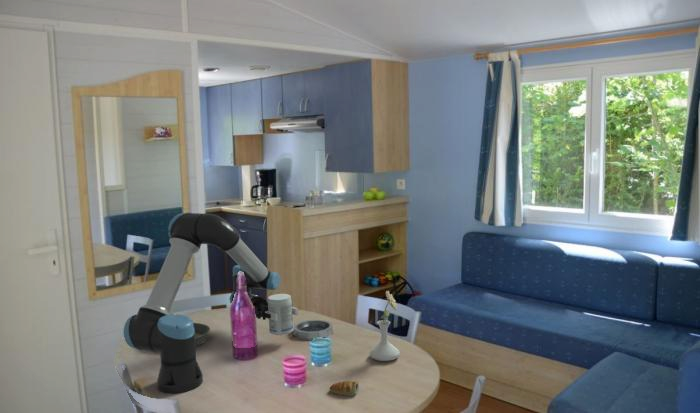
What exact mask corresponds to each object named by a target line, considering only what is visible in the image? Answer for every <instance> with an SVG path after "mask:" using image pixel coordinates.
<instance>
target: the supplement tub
mask: <svg viewBox="0 0 700 413" xmlns="http://www.w3.org/2000/svg"><path fill="white" fill-rule="evenodd" d="M267 302H268V311H269V312H272V313H275V314H277V321H274V320H271V319H268V327H269V333H270V334H271V335H275V336H284V335H290V334H291V333H292V332H294V320H293V314H292V307H293V303H292V296H291V294H287V293H277V294H272V295H269V296H268V297H267Z"/></svg>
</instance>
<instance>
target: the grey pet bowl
mask: <svg viewBox="0 0 700 413" xmlns="http://www.w3.org/2000/svg"><path fill="white" fill-rule="evenodd" d="M333 330H334V329H333V323H332V322H330V321H328V320H321V319H309V320H304V321H300V322H297V323H296V324H293V335H294V336H293V337H295V338H297V339H299V340H300V339H301V340H305V339H306V340H309V341H310V339H313V338H317V337H326V338H328V337H330V336H331V335H333V334H332V333H334V332H333ZM330 334H331V335H330ZM329 335H330V336H329Z"/></svg>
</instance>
